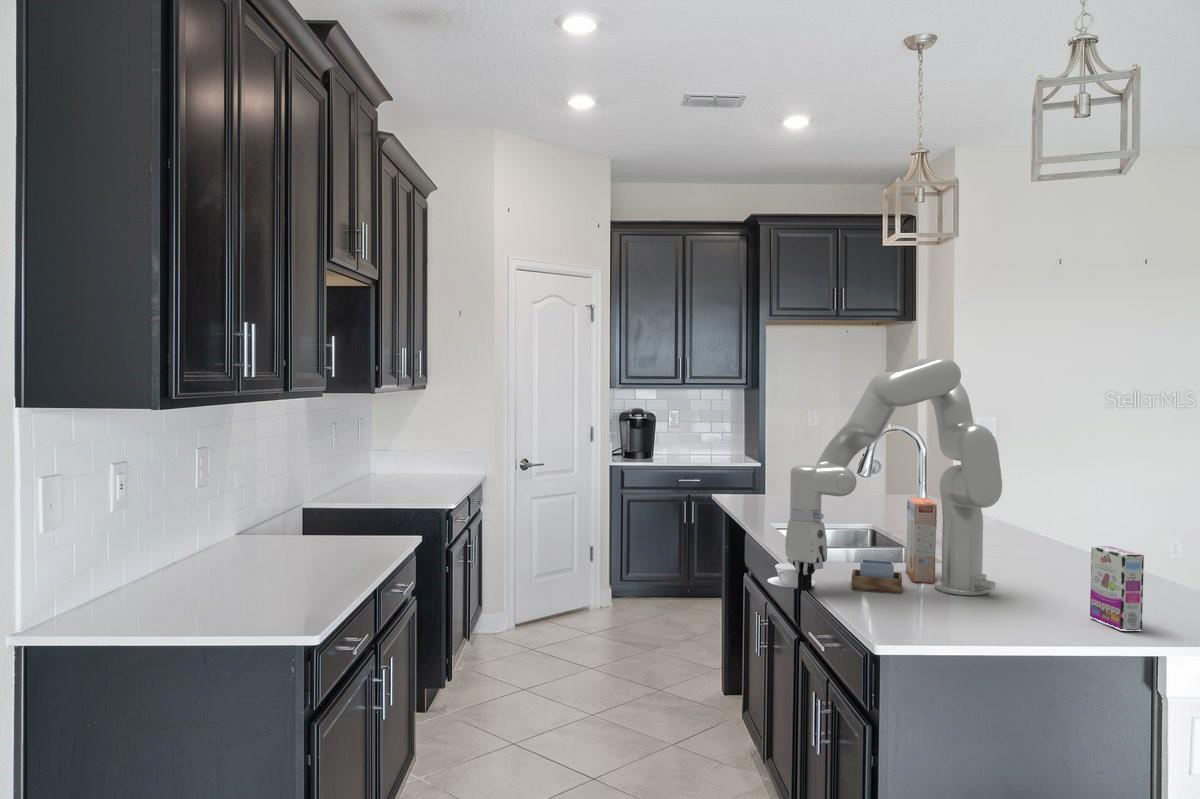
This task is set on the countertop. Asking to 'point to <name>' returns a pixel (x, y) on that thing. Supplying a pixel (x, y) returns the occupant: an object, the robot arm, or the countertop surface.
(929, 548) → the cracker box
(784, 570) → the teacup
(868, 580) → the walnut crate
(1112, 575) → the candy bar box
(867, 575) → the slate crate
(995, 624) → the countertop surface
